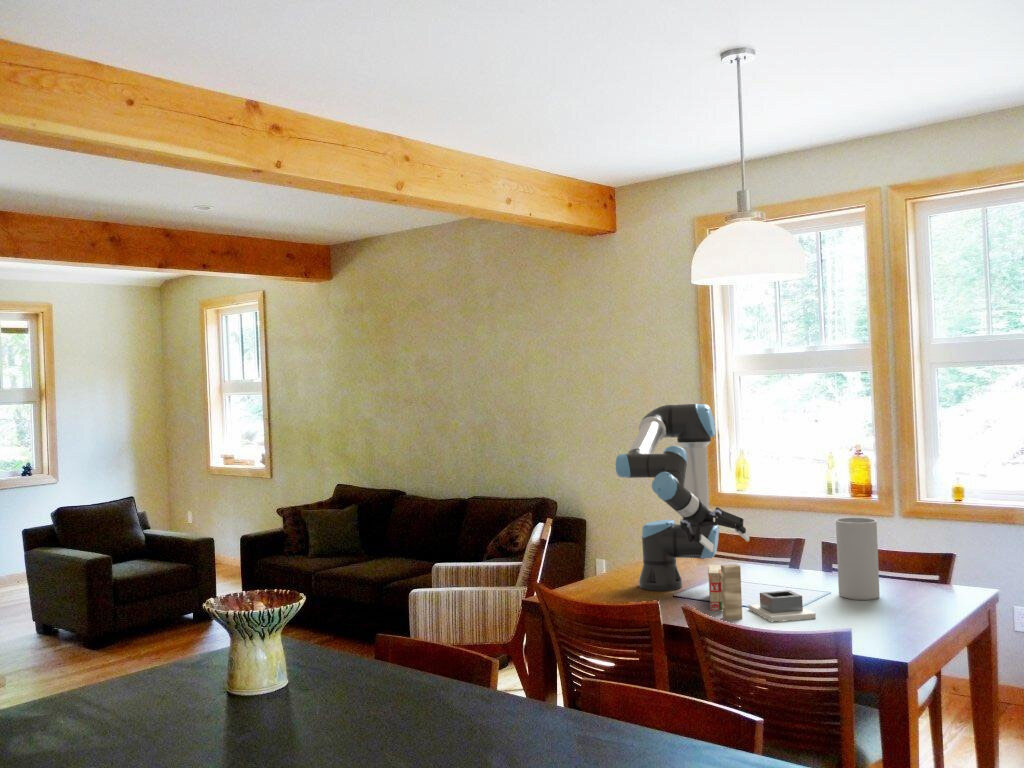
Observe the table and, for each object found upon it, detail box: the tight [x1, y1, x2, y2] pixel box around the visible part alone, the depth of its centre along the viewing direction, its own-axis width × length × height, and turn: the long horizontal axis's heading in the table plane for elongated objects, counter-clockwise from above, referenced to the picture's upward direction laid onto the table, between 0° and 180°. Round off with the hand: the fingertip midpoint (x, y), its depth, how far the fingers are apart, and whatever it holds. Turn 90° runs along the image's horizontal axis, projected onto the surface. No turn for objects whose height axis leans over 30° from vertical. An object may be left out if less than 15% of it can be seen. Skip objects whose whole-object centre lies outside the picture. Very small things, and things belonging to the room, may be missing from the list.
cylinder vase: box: [835, 516, 881, 601], centre depth 291 cm, size 12×12×25 cm
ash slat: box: [720, 563, 743, 621], centre depth 269 cm, size 3×5×16 cm, turn 100°
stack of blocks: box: [707, 564, 722, 612], centre depth 289 cm, size 21×6×12 cm, turn 168°
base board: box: [748, 603, 817, 622], centre depth 272 cm, size 16×14×2 cm
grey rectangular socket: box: [759, 589, 804, 613], centre depth 272 cm, size 8×10×4 cm
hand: (730, 543), depth 283 cm, fingers open, 13 cm apart
